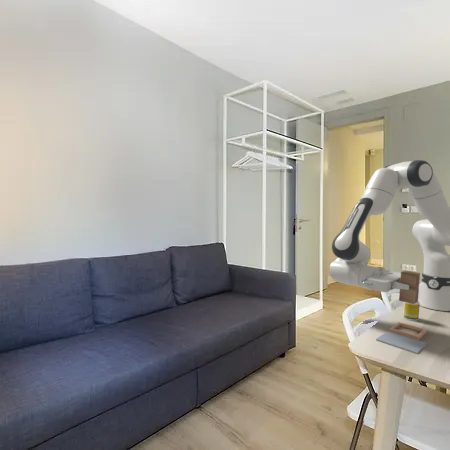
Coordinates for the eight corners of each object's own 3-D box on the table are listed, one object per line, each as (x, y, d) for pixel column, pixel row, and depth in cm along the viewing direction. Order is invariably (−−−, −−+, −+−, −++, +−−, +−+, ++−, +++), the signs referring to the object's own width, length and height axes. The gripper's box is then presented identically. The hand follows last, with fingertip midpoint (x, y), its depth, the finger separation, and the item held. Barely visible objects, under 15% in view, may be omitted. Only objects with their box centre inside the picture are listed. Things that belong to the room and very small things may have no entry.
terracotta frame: (398, 325, 115) (398, 322, 115) (426, 333, 109) (426, 330, 108) (389, 331, 109) (389, 328, 109) (418, 340, 102) (418, 337, 102)
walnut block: (403, 298, 110) (405, 270, 110) (417, 301, 107) (420, 273, 106) (399, 300, 107) (401, 272, 107) (413, 303, 104) (415, 274, 103)
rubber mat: (387, 332, 108) (387, 331, 108) (427, 344, 99) (427, 343, 99) (375, 340, 101) (376, 339, 101) (417, 354, 93) (417, 352, 93)
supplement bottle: (420, 322, 119) (422, 297, 119) (405, 320, 120) (407, 295, 120) (415, 317, 125) (416, 293, 124) (400, 315, 126) (402, 292, 125)
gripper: (359, 273, 109) (402, 281, 99) (382, 266, 123) (422, 273, 113) (358, 290, 109) (401, 300, 99) (381, 282, 123) (421, 290, 113)
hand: (412, 285), depth 106 cm, fingers closed on walnut block, 4 cm apart
